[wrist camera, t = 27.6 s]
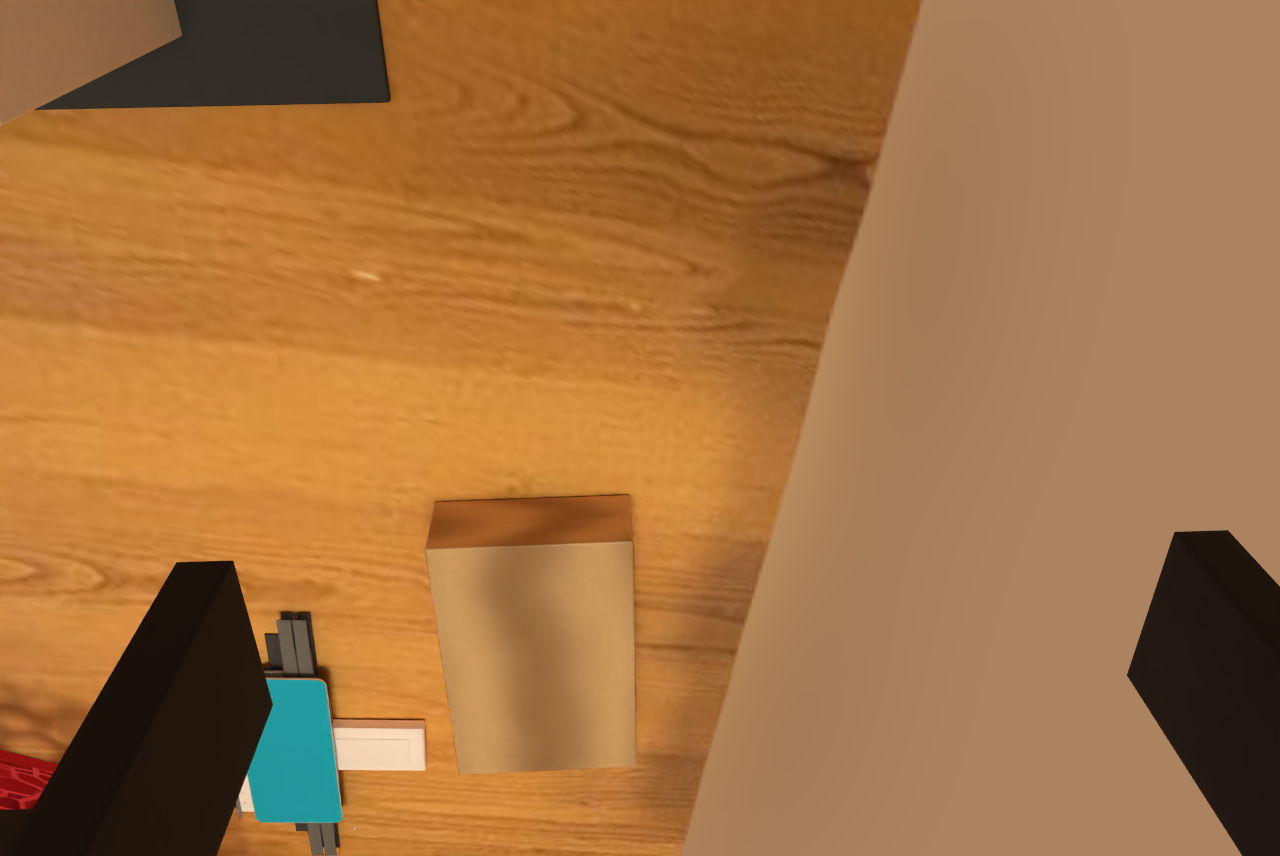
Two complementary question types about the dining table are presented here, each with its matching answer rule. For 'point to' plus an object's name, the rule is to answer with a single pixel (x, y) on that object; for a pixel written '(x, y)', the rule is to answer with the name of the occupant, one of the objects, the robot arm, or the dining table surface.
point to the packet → (73, 45)
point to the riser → (536, 631)
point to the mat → (252, 58)
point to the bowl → (22, 780)
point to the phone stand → (315, 743)
